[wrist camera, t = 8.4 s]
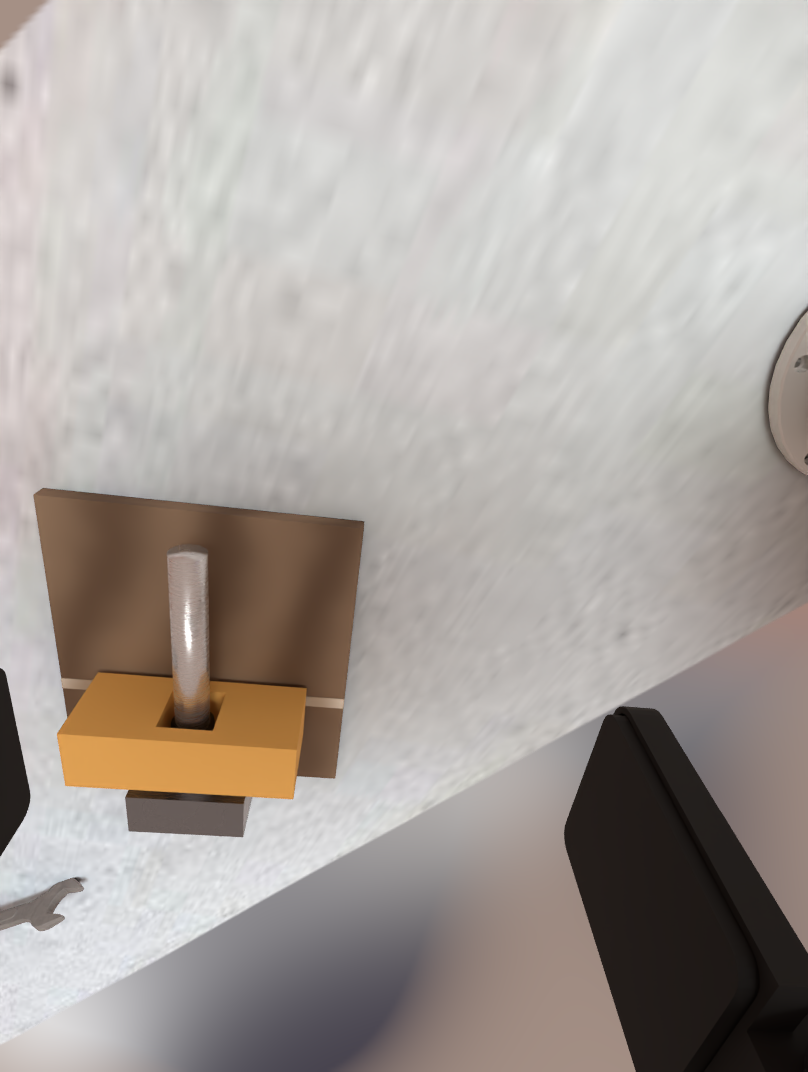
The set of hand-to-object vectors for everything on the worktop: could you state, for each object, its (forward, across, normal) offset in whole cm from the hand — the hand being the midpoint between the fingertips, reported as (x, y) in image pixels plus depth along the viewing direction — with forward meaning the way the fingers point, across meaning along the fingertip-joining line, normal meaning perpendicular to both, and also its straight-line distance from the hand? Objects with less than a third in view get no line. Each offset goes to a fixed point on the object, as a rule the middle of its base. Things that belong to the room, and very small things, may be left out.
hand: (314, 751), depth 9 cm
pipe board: (+24, +8, +17) cm, 31 cm away
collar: (+23, +8, +20) cm, 32 cm away
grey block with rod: (+23, +8, +17) cm, 30 cm away
